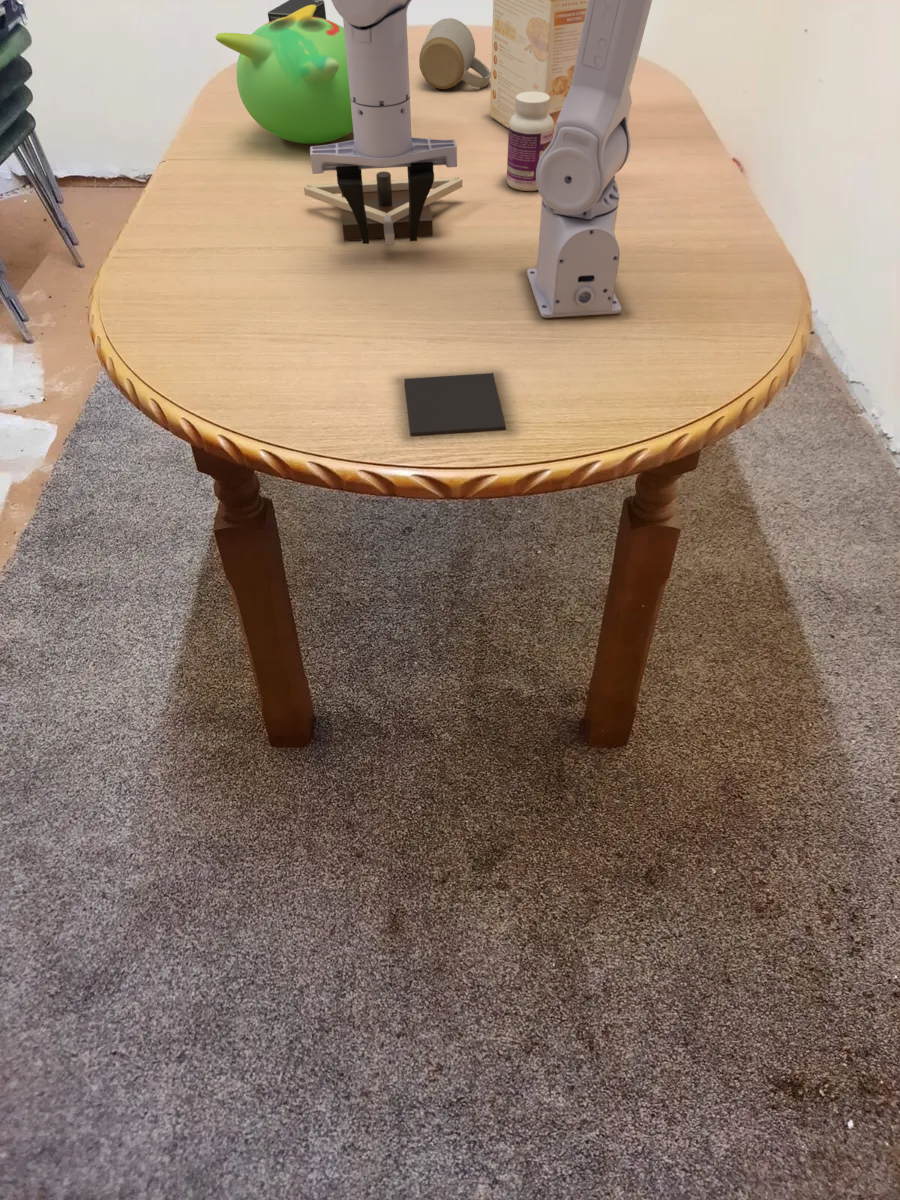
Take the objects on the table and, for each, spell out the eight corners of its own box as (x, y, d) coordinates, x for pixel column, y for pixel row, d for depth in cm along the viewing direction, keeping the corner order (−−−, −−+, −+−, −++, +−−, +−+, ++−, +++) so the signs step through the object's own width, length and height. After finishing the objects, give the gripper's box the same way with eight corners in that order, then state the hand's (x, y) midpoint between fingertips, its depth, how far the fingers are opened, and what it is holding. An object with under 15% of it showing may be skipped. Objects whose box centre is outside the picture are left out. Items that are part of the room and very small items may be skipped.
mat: (505, 429, 69) (505, 426, 69) (410, 435, 68) (410, 432, 68) (492, 375, 74) (493, 372, 74) (404, 381, 74) (404, 378, 73)
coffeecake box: (585, 143, 111) (604, -37, 96) (539, 152, 109) (552, -30, 94) (531, 108, 120) (541, -61, 105) (487, 116, 118) (492, -55, 103)
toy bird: (393, 124, 116) (386, -2, 105) (352, 170, 106) (339, 35, 95) (275, 113, 120) (257, -10, 109) (224, 156, 109) (198, 25, 98)
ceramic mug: (417, 90, 126) (416, 31, 120) (427, 73, 131) (427, 15, 125) (486, 95, 124) (488, 35, 119) (493, 77, 130) (496, 19, 124)
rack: (432, 236, 93) (431, 190, 89) (344, 240, 92) (339, 194, 89) (425, 199, 100) (424, 154, 96) (342, 203, 99) (338, 159, 95)
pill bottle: (546, 193, 100) (553, 105, 93) (503, 190, 101) (506, 103, 94) (551, 176, 104) (558, 90, 96) (510, 173, 104) (513, 87, 97)
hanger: (302, 249, 87) (300, 238, 86) (304, 192, 97) (303, 181, 96) (476, 240, 88) (476, 228, 87) (461, 184, 98) (461, 173, 97)
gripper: (451, 80, 82) (452, 218, 92) (304, 86, 81) (321, 225, 91) (459, 104, 77) (459, 247, 87) (303, 111, 76) (321, 255, 86)
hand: (389, 238), depth 89 cm, fingers open, 4 cm apart
